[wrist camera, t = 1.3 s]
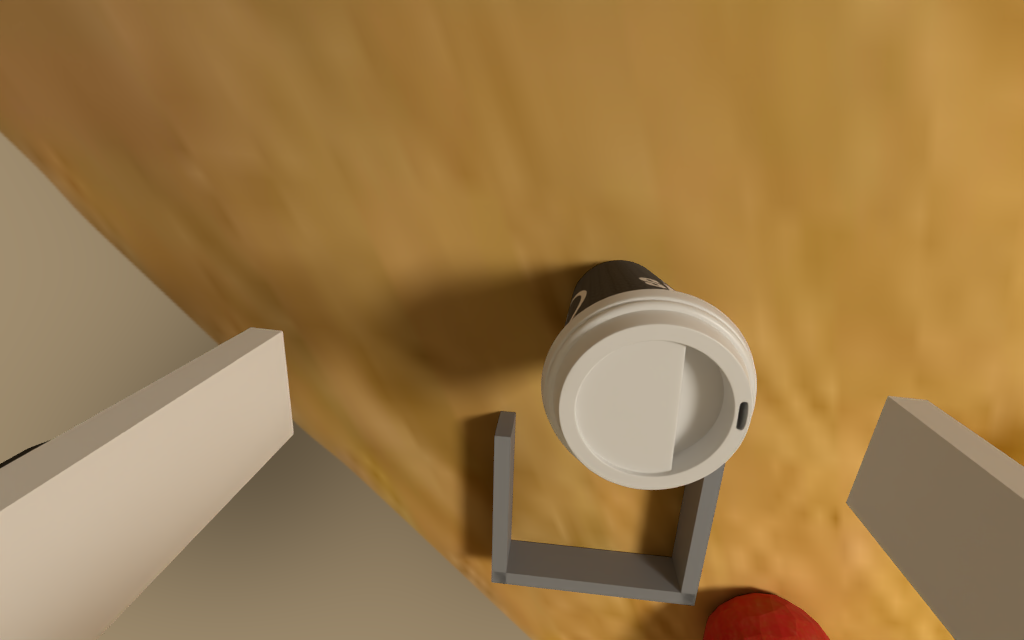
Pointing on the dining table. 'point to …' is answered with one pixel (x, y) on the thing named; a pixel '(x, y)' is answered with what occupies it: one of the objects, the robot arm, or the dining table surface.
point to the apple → (761, 620)
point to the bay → (594, 566)
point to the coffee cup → (647, 380)
